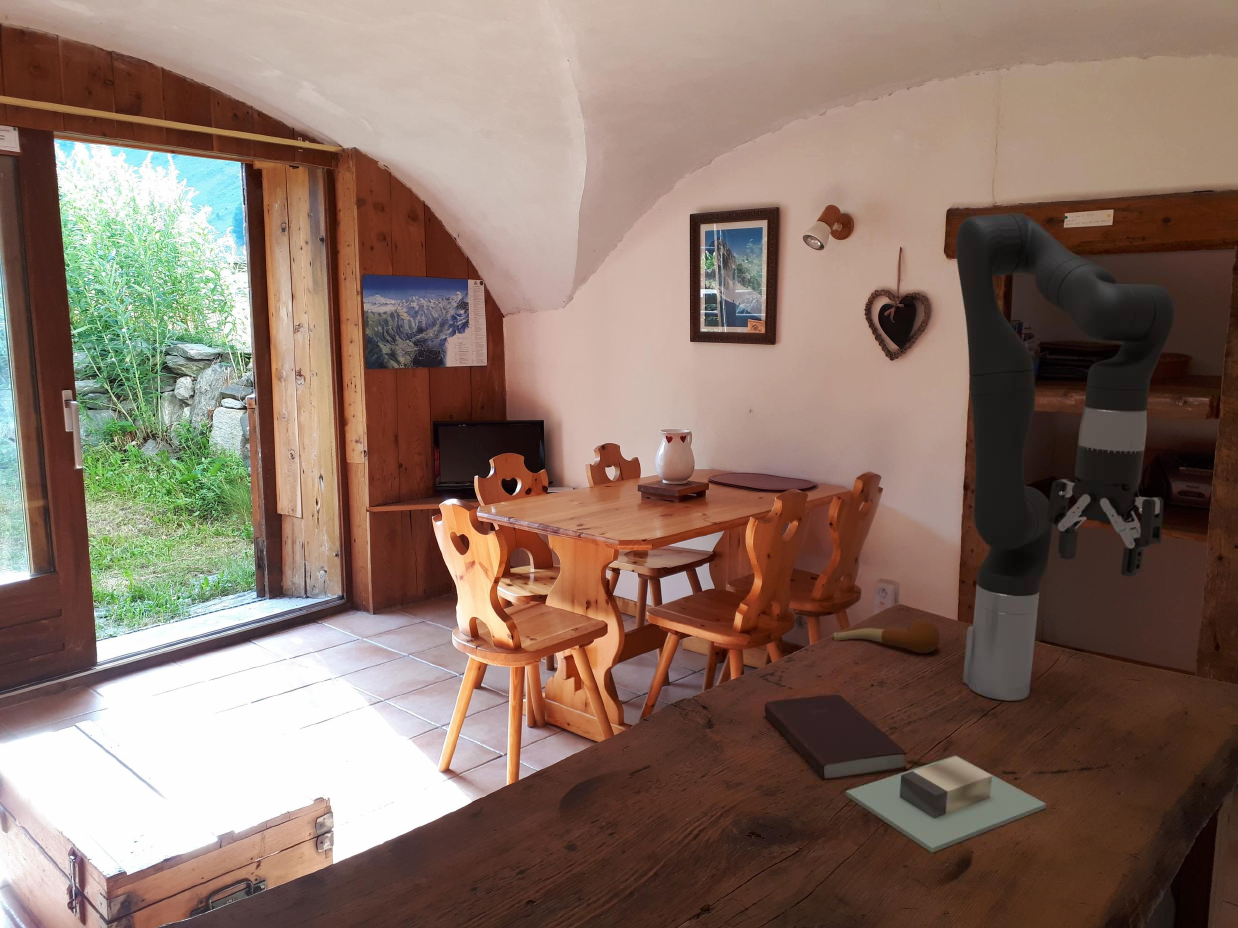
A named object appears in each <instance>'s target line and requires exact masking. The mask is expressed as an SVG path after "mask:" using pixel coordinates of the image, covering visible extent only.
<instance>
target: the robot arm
mask: <svg viewBox="0 0 1238 928" xmlns="http://www.w3.org/2000/svg"><path fill="white" fill-rule="evenodd" d="M955 240H956V243H955V245H956V246H955V251H956V252H955V254H956V256H955V257H956V262H957V270H958V277H959V283H960V288H961V294H962V303H963V308H964V315H965V322H966V323H965V324H966V325H965V326H966V335H967V348H968V374H969V377H968V378H969V379H968V380H969V391H970V400H971V409H972V410H971V411H972V424H973V427H972V428H973V439H974V440H973V443H974V452H975V453H974V455H975V456H974V457H975V472H974V473H975V476H974V477H975V478H974V502H973V504H974V505H973V518H974V524H975V529H976V531H977V533H978V535H979V537H980V538H981V540H983V542H984V543H985V544H986V545H987V546H988V547H990V548H989V551H988V554H987V555H986V557H985V559H984V560H983V562H981V564H980V565H979V567H978V570H977V577H976V579H977V580H976V588H975V589H976V591H975V601H974V602H975V603H974V613H973V625H970V626H968V628H967V630H966V642H965V651H964V663H963V675H962V676H963V677H962V683H963V684H966V685H967V686H968V687H969V689H971V690H972V691H973V692H974V693H977V694H978V695H980V696H983V697H985V698H990V699H994V700H999V701H1020V700H1021V701H1022V700H1025V699H1026V698H1028V697H1029V695H1030V689H1031V688H1030V687H1031V678H1032V669H1033V668H1032V667H1033V658H1034V648H1035V640H1036V631H1037V630H1036V629H1037V628H1036V627H1037V619H1038V607H1039V600H1040V599H1039V598H1040V596H1039V595H1040V589H1041V582H1042V580H1043V577H1044V576H1045V572H1046V570H1047V567H1048V562H1049V556H1050V548H1051V541H1052V534H1053V525H1054V526H1055V527H1057V528H1058V530H1059V537H1058V549H1057V550H1058V554H1060V559H1062V560H1066V561H1069V560H1073V559H1074V558H1075V557H1076V553H1077V552H1076V551H1077V544H1078V534H1079V531H1077V530H1076V529H1077V528H1078V527H1079V526H1080V525H1081V524H1082V523H1083V522H1084V521H1086V520H1088V521H1091V522H1092V521H1098V522H1100V523H1102V524H1106V525H1112V526H1113V528H1114V530H1115V532H1116V533H1118V534H1119V535H1120V537H1121V538H1122V541H1123V542H1124V544H1125V547H1123V555H1122V562H1121V569H1120V570H1121V571H1120V575H1121V576H1122V577H1127V578H1128V577H1133V576H1136V575H1137V573H1140V570H1141V569H1142V561H1143V554H1144V549H1145V548H1147V547H1152V546H1157V545H1161V543H1162V533H1163V532H1162V531H1163V518H1164V517H1163V515H1164V499H1163V498H1162V497H1160V496H1156V497H1155V496H1154V497H1146V496H1145V497H1144V496H1140V494H1139V489H1138V488H1139V485H1140V482H1141V480H1142V472H1143V471H1142V470H1143V466H1144V465H1143V464H1144V462H1143V461H1144V455H1145V446H1146V438H1147V430H1148V429H1147V427H1148V426H1147V424H1148V423H1147V410H1148V403H1149V395H1150V386H1151V385H1150V384H1151V378H1152V376H1153V373H1154V372H1155V369H1156V367H1157V365H1158V362H1159V360H1160V357H1161V355H1162V353H1163V350H1164V348H1165V346H1166V343H1167V341H1168V340H1169V339H1168V338H1169V336H1170V334H1171V332H1172V328H1173V326H1174V321H1175V305H1174V302H1173V299H1172V296H1171V295H1170V293H1169V292H1168V290H1166V289H1165V288H1164V287H1162V286H1160V285H1157V284H1149V283H1148V284H1142V283H1141V284H1140V283H1139V284H1138V283H1137V284H1135V283H1132V284H1131V283H1118V281H1117V279H1116V277H1115V276H1114V275H1113V274H1112V273H1111V272H1110V271H1109V270H1108V269H1106V268H1104V267H1102V266H1100V265H1098V264H1096V263H1094V262H1093V261H1091V260H1088V259H1087V258H1084V257H1082V256H1079V254H1076V253H1074V252H1073V251H1071V250H1069V249H1068V248H1067V247H1065V246H1064V245H1063V244H1062V243H1061V242H1060V241H1058V240H1057V239H1056V238H1055V237H1054V236H1053V235H1052V234H1050V233H1049V232H1048V231H1047V230H1046V229H1045V228H1044V227H1043V226H1042V225H1040V224H1039V223H1038V222H1037V221H1036V220H1034V219H1033V218H1031V217H1030V216H1028V215H1027V214H1023V213H1018V212H1017V213H1015V212H1011V213H998V214H997V213H996V214H984V215H983V214H982V215H973V216H969V217H966V218H965V219H964V220H962V222H961V224H960V225H959V227H958V231H957V235H956V239H955ZM1018 273H1019V274H1022V273H1024V274H1028V275H1032V276H1034V281H1035V287H1036V289H1037V291H1038V292H1039V294H1040V295H1041V297H1042V298H1043V299H1045V300H1046V301H1047V302H1048V303H1050V304H1051V305H1053V306H1054V307H1056V308H1057V309H1060V310H1061V311H1063V312H1065V313H1067V314H1068V315H1069V317H1070V319H1071V320H1072V322H1073V323H1074V324H1075V326H1076V327H1077V329H1078V330H1079V331H1080V332H1081V334H1083V335H1084V336H1086V337H1089V338H1091V339H1094V340H1098V341H1100V342H1101V341H1102V342H1122V345H1121V346H1120V348H1119V350H1118V353H1117V354H1116V355H1115V356H1114V357H1112V358H1109V359H1104V360H1101V361H1096V362H1094V363H1093V364H1091V366H1090V367H1089V369H1088V372H1087V380H1086V388H1085V395H1084V396H1085V397H1084V407H1083V413H1082V416H1081V419H1080V425H1079V433H1078V442H1077V451H1076V460H1075V470H1074V475H1075V477H1076V480H1075V482H1072V481H1071V480H1070V479H1068V478H1067V479H1064V478H1063V479H1058V480H1054V481H1052V483H1051V488H1050V496H1049V499H1048V498H1047V497H1046V496H1045V494H1044V493H1043V492H1042V491H1040V490H1038V489H1037V488H1035V487H1032V486H1029V485H1025V478H1024V477H1025V475H1024V454H1025V448H1026V443H1027V439H1028V436H1029V431H1030V428H1031V424H1032V421H1033V415H1034V411H1035V405H1036V390H1035V389H1036V385H1035V372H1034V371H1035V370H1034V361H1033V357H1032V354H1031V353H1030V351H1029V349H1028V347H1027V345H1026V344H1025V342H1024V341H1023V340H1022V339H1021V337H1020V336H1019V334H1018V333H1017V331H1015V329H1014V327H1013V326H1012V325H1011V323H1010V322H1009V321H1008V319H1007V318H1006V317H1005V316H1004V313H1003V312H1002V309H1001V308H1000V305H999V302H998V299H997V294H996V290H995V285H994V277H995V276H996V277H997V276H1011V275H1015V274H1018ZM1072 495H1073V497H1074V499H1075V502H1076V503H1075V504H1074V505H1073V506H1072V507H1071V508H1070V509H1069V502H1070V497H1072ZM1136 508H1138V513H1139V514H1141V518H1140V522H1139V520H1138V517H1137V516H1136V515H1135V512H1134V510H1135V509H1136ZM1068 509H1069V510H1068ZM1124 520H1125V521H1124Z"/></svg>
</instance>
